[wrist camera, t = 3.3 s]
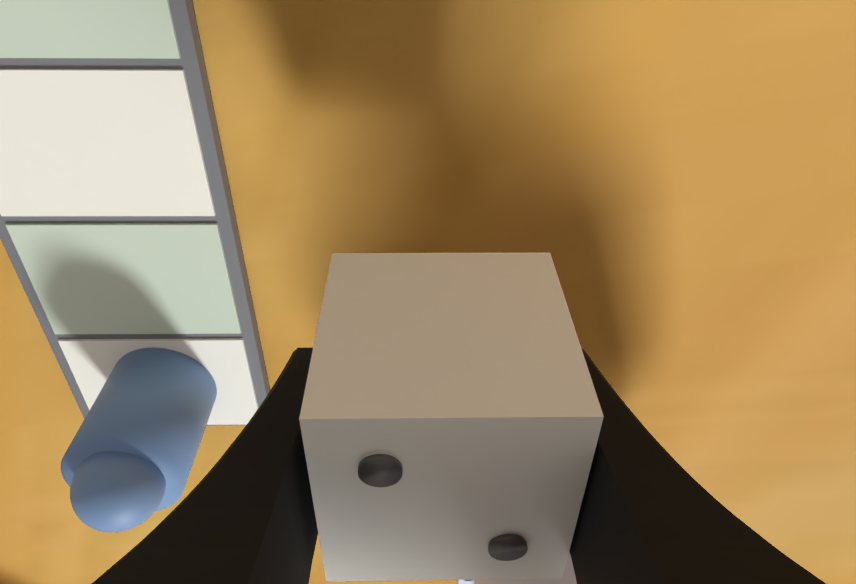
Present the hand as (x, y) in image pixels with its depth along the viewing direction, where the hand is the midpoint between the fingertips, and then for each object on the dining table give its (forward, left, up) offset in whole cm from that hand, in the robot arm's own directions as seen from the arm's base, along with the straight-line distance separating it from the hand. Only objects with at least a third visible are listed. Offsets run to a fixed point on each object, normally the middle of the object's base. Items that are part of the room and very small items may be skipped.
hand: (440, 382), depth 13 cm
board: (0, +10, -7) cm, 12 cm away
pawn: (-7, +10, -7) cm, 13 cm away
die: (0, 0, -2) cm, 2 cm away
